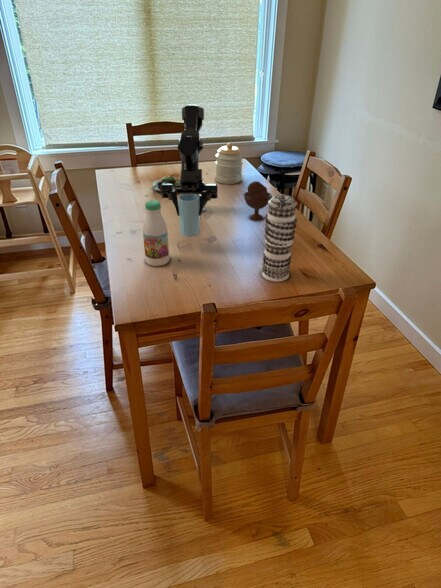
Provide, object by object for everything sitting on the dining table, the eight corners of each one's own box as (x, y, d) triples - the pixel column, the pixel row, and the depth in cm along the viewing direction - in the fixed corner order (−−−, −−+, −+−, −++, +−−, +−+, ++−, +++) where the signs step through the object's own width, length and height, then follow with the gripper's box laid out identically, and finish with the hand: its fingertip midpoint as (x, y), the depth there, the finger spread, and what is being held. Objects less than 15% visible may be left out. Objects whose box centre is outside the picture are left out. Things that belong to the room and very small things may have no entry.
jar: (217, 175, 206) (217, 139, 196) (242, 176, 205) (244, 140, 195) (213, 183, 196) (213, 145, 186) (240, 185, 194) (242, 147, 184)
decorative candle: (269, 284, 122) (277, 205, 108) (255, 270, 129) (260, 194, 115) (295, 278, 125) (306, 201, 111) (280, 264, 132) (288, 190, 118)
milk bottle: (146, 255, 136) (140, 198, 125) (169, 254, 136) (166, 197, 125) (145, 267, 129) (138, 207, 118) (169, 266, 130) (165, 207, 119)
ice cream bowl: (268, 224, 157) (271, 186, 149) (240, 222, 159) (241, 184, 151) (271, 214, 166) (274, 177, 158) (244, 211, 168) (246, 175, 159)
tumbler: (176, 230, 139) (175, 195, 132) (195, 226, 142) (194, 192, 135) (184, 238, 134) (183, 202, 127) (203, 234, 137) (202, 199, 130)
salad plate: (148, 181, 197) (147, 171, 194) (185, 179, 200) (184, 169, 198) (151, 195, 181) (151, 185, 179) (191, 193, 185) (191, 183, 182)
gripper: (158, 158, 128) (157, 205, 125) (217, 159, 128) (217, 206, 125) (163, 175, 139) (161, 218, 136) (217, 175, 139) (217, 219, 136)
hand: (189, 215), depth 133 cm, fingers closed on tumbler, 7 cm apart
